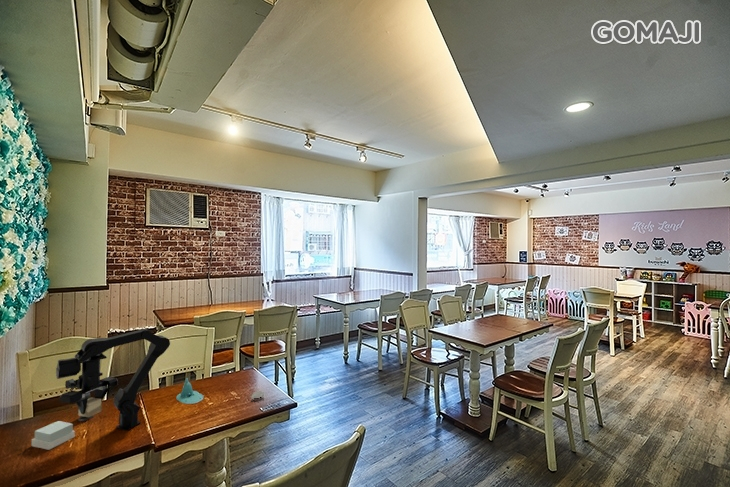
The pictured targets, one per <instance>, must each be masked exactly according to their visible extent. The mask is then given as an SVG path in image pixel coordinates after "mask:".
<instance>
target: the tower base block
mask: <svg viewBox="0 0 730 487" xmlns="http://www.w3.org/2000/svg"><path fill="white" fill-rule="evenodd" d="M75 435H76V431H75V430H73V432H70V433H68V434H66V435H64V436H62V437H60V438H58V439H56V440H54V441H51V442H46V441H41V440H37V439H35V437H33V438H31V447H33V448H40V449H43V450H48V451H50V450H52V449H53V448H56V447H57V446H60V445H62V444H63V443H66V442H68V441H69V440H71V439H73V438H75V437H76V436H75Z"/></svg>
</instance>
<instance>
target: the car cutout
mask: <svg viewBox="0 0 730 487" xmlns="http://www.w3.org/2000/svg"><path fill="white" fill-rule="evenodd" d="M263 396H264V397H265V393H264V392H262V390H256V391H254V392H253V393H252V394H251V397H250V399H251V400H252V399H253V400H255V399H254V398H259V397H263ZM264 397H263V398H264ZM259 399H260V398H259ZM253 400H252V401H253Z"/></svg>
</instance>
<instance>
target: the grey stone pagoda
mask: <svg viewBox="0 0 730 487" xmlns="http://www.w3.org/2000/svg"><path fill="white" fill-rule="evenodd" d="M85 397H86V398H88V399H89V398H91V392H89V393H86V394H85ZM77 414H78V416H79V409H78V410H77ZM92 418H94V415H92V416H90V417H83V416H79V418H78V419H77V420H78V422H83V421H84V422H85V421H88V420H91V419H92Z"/></svg>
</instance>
